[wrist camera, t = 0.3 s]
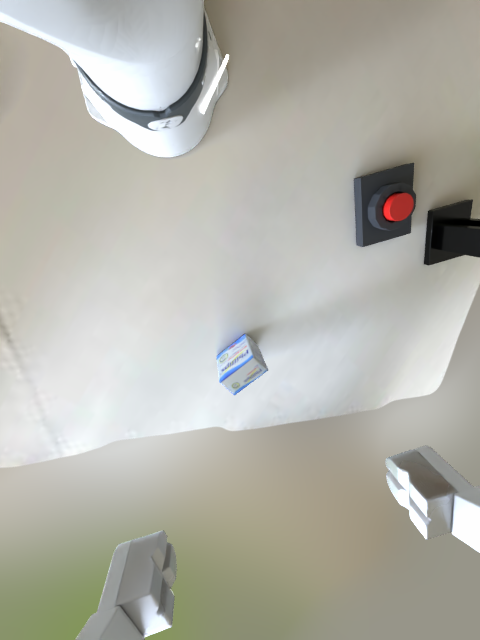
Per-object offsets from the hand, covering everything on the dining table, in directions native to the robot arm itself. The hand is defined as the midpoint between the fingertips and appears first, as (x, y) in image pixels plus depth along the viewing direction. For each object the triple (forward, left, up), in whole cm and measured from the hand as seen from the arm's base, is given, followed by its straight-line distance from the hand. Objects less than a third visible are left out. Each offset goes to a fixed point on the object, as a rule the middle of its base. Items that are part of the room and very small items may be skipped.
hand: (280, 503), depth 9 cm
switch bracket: (+6, +43, -39) cm, 59 cm away
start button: (-2, +30, -36) cm, 47 cm away
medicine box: (+18, -1, -39) cm, 43 cm away
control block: (-2, +30, -39) cm, 50 cm away
